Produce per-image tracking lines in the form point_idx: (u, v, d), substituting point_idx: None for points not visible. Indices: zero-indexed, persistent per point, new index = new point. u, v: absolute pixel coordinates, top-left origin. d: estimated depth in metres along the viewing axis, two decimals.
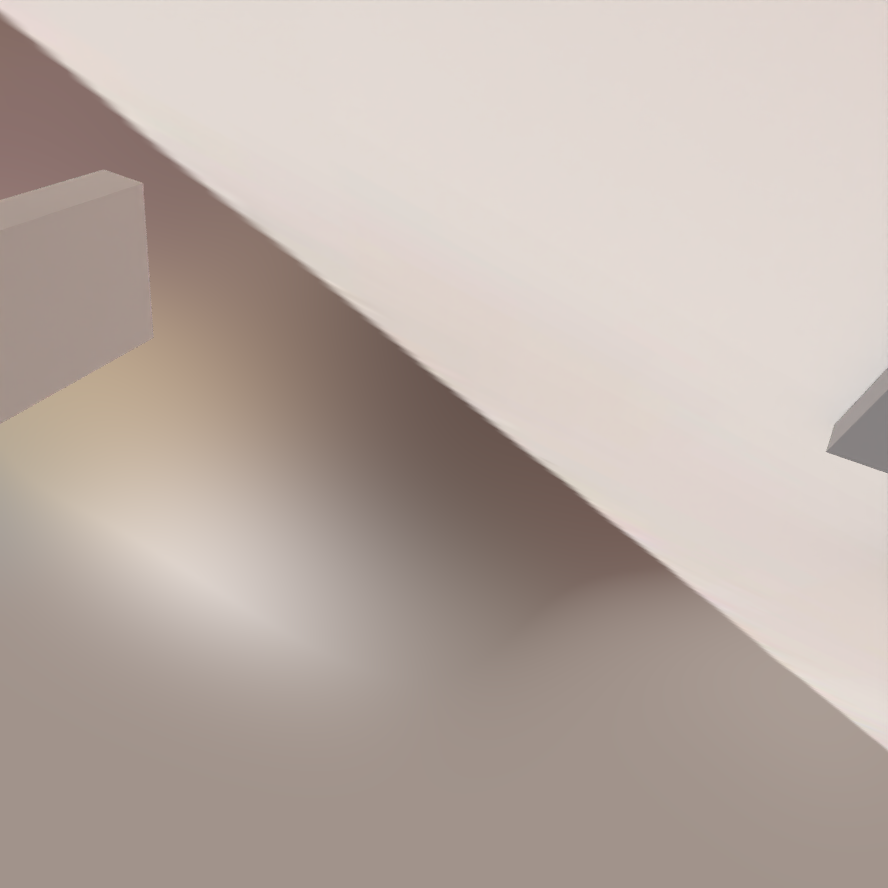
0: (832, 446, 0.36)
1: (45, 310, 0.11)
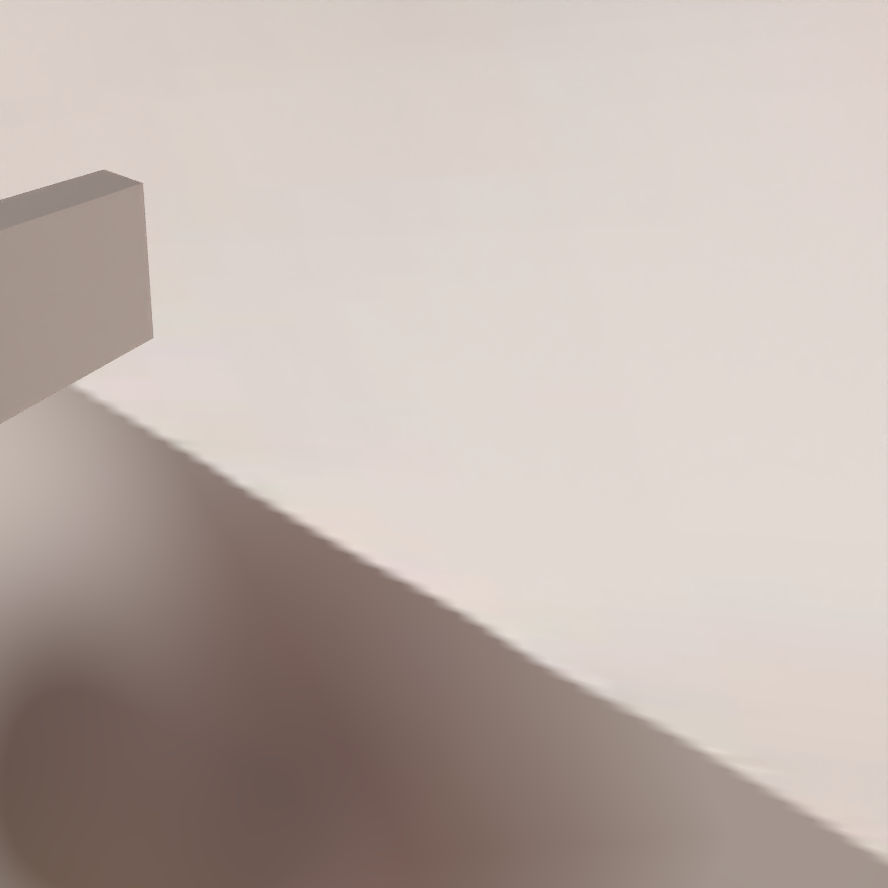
0: None
1: (45, 310, 0.11)
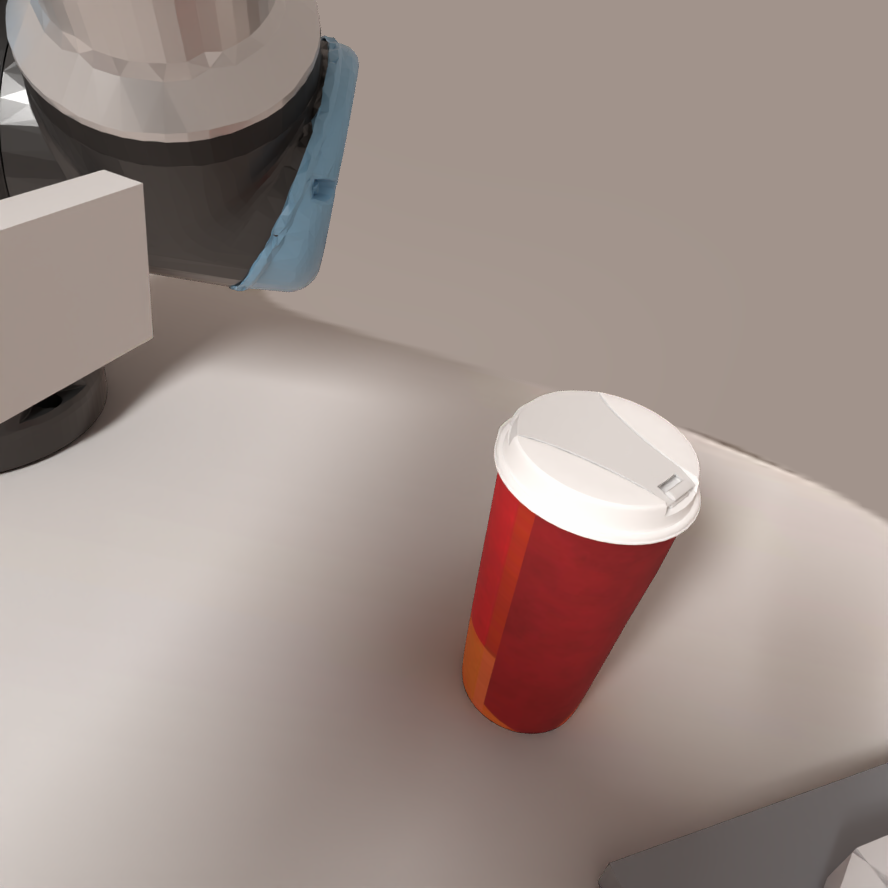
0: None
1: (45, 310, 0.11)
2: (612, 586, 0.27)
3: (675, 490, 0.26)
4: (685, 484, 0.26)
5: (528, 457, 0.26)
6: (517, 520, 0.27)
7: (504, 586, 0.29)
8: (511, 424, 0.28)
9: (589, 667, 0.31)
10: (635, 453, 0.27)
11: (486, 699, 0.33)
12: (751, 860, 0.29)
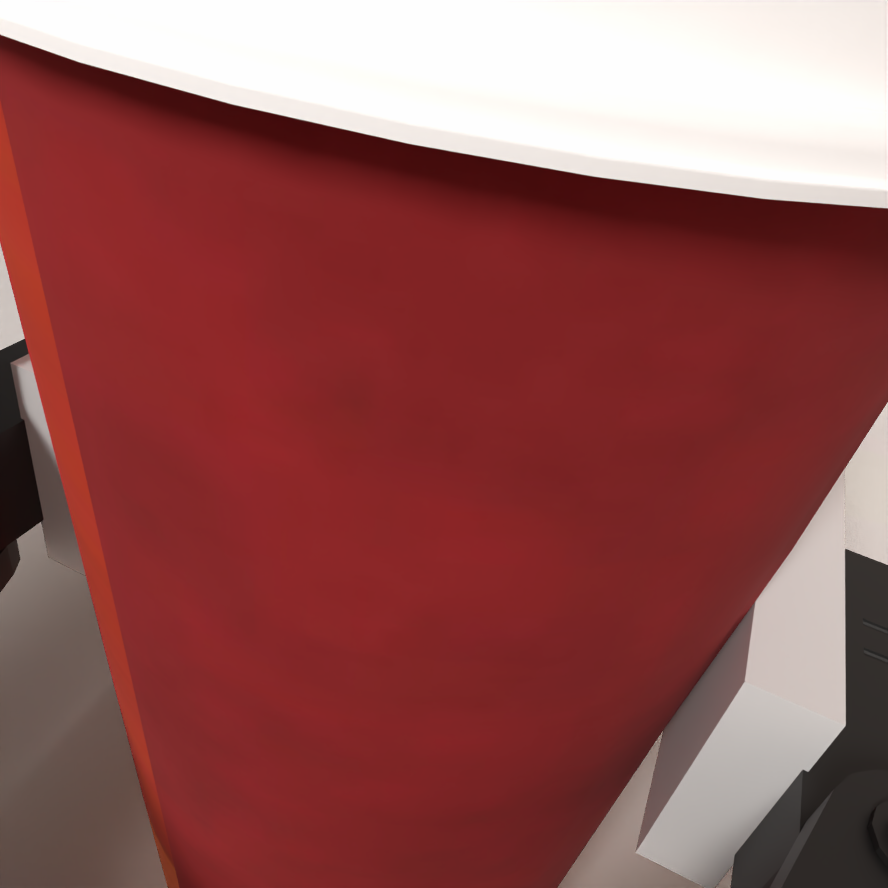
0: None
1: None
2: (586, 602, 0.04)
3: None
4: None
5: None
6: None
7: (98, 605, 0.06)
8: None
9: None
10: None
11: None
12: None
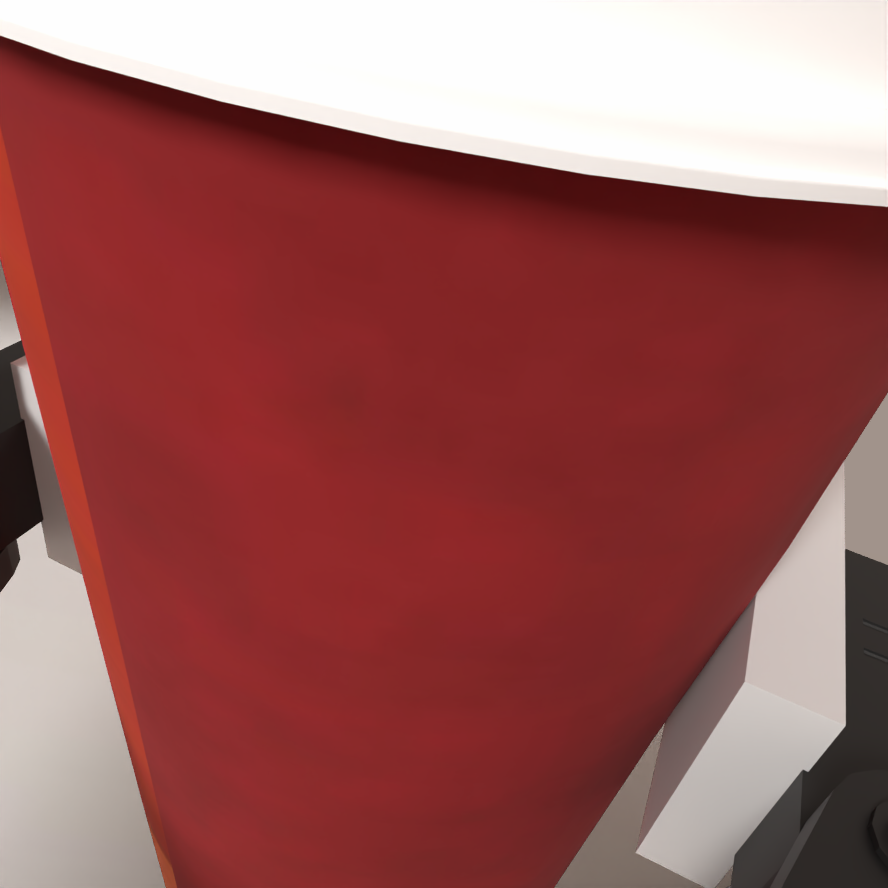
0: None
1: None
2: (579, 600, 0.04)
3: None
4: None
5: None
6: None
7: (94, 605, 0.06)
8: None
9: None
10: None
11: None
12: None
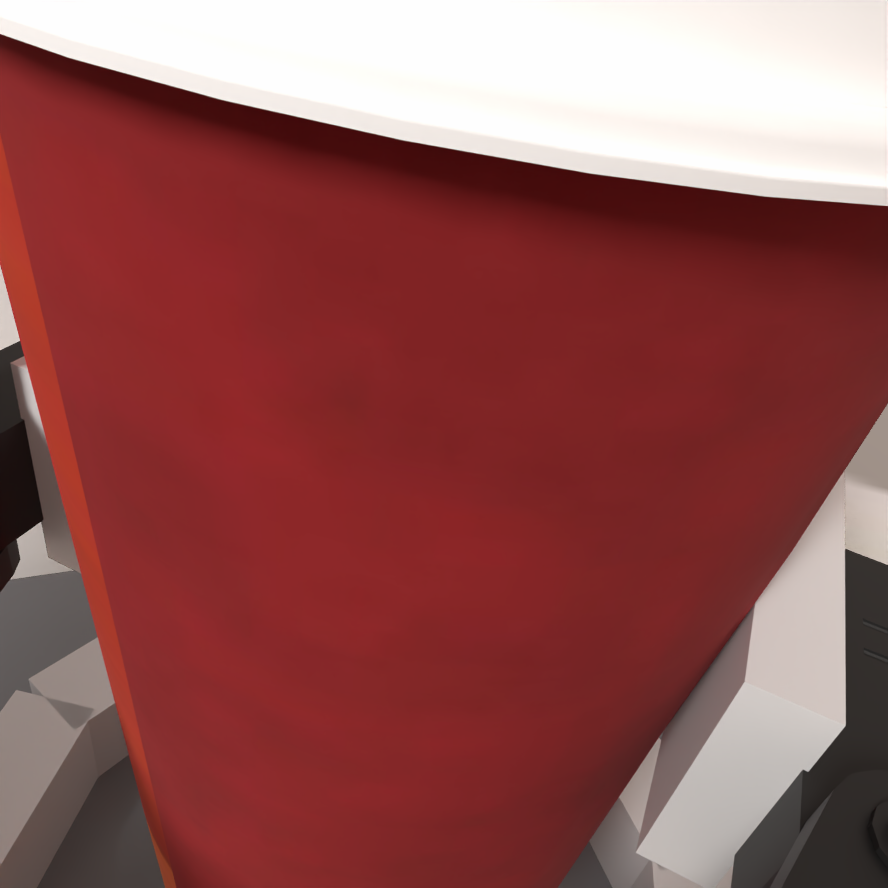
0: None
1: None
2: (584, 605, 0.04)
3: None
4: None
5: None
6: None
7: (95, 608, 0.06)
8: None
9: None
10: None
11: None
12: (67, 617, 0.19)
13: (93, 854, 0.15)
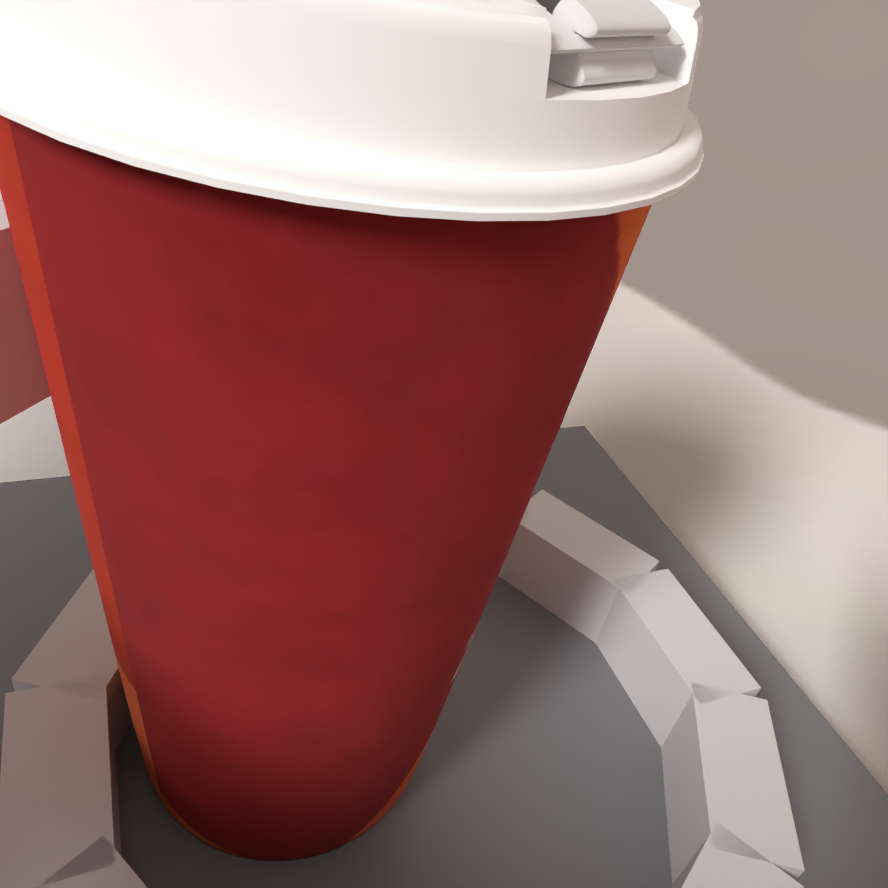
0: None
1: None
2: (374, 451, 0.07)
3: (598, 2, 0.06)
4: (644, 6, 0.06)
5: None
6: (5, 195, 0.07)
7: (75, 476, 0.09)
8: None
9: (382, 716, 0.11)
10: None
11: (160, 783, 0.13)
12: None
13: None
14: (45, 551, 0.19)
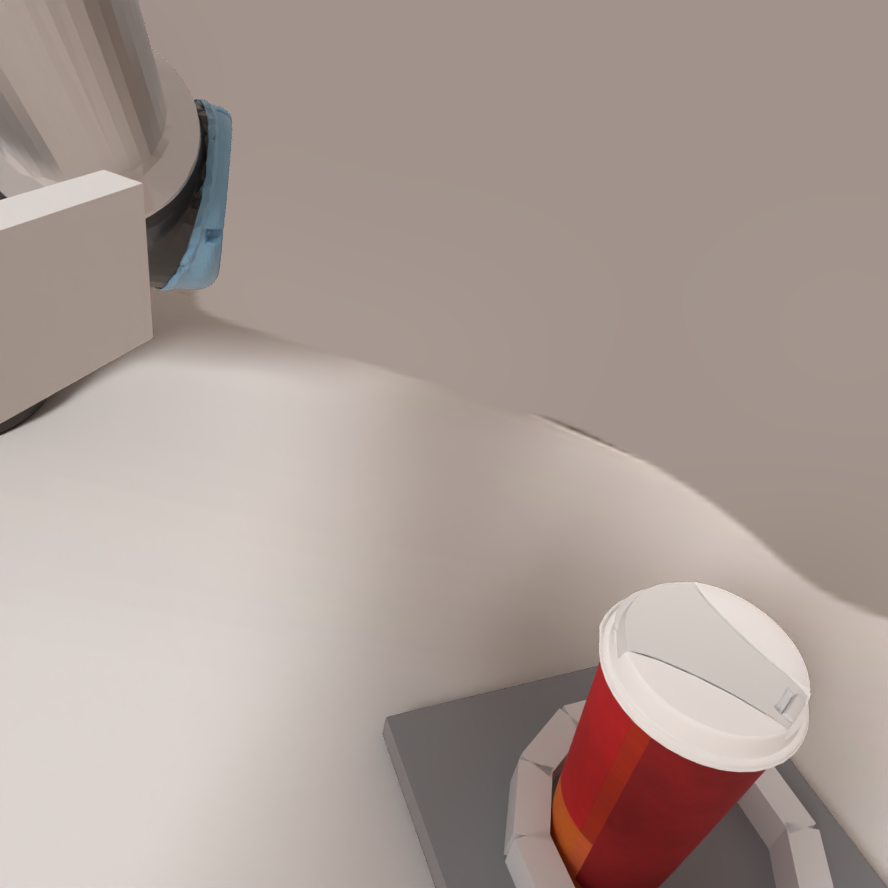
0: None
1: (45, 310, 0.11)
2: (725, 797, 0.27)
3: (792, 710, 0.26)
4: (800, 701, 0.26)
5: (644, 679, 0.26)
6: (629, 734, 0.27)
7: (608, 787, 0.29)
8: (616, 629, 0.28)
9: (688, 854, 0.31)
10: (745, 663, 0.27)
11: (578, 876, 0.33)
12: (494, 718, 0.40)
13: None
14: (464, 750, 0.38)
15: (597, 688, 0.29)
